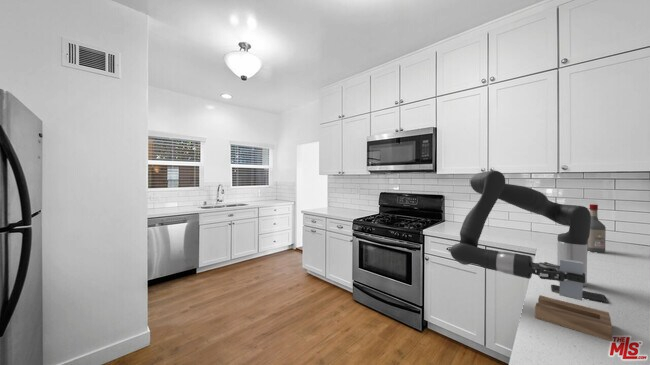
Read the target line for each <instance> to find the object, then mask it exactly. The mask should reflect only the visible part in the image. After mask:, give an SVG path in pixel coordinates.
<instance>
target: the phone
mask: <svg viewBox="0 0 650 365" xmlns="http://www.w3.org/2000/svg"><path fill="white" fill-rule="evenodd" d="M550 289H551V290H550V291H551V292H552V293H555V294H559V291H560V285H557V284H550ZM582 298H584V300H587V299H589V300H588V301H593V302H597V303H601V302H602V304H608V303H609V301H608V300H609V299H607V297H606V295H604V294H601V293H597V292H592V291H587V290H583V291H582Z"/></svg>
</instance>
